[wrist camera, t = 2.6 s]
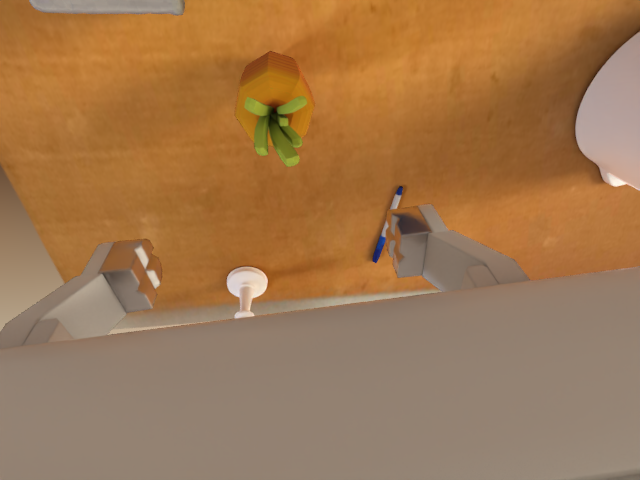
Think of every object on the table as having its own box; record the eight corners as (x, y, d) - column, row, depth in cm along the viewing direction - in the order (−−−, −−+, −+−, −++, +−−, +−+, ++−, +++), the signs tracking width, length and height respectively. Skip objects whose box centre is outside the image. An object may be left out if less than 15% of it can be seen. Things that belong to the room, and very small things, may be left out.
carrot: (237, 35, 29) (212, 99, 17) (301, 28, 29) (318, 86, 17) (251, 99, 32) (237, 191, 20) (308, 93, 32) (326, 179, 20)
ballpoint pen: (378, 259, 45) (379, 265, 45) (371, 259, 45) (372, 265, 45) (402, 185, 39) (405, 190, 38) (394, 184, 39) (397, 189, 38)
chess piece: (224, 292, 46) (214, 363, 38) (229, 263, 43) (219, 333, 36) (263, 297, 47) (261, 366, 40) (271, 269, 45) (270, 338, 37)
